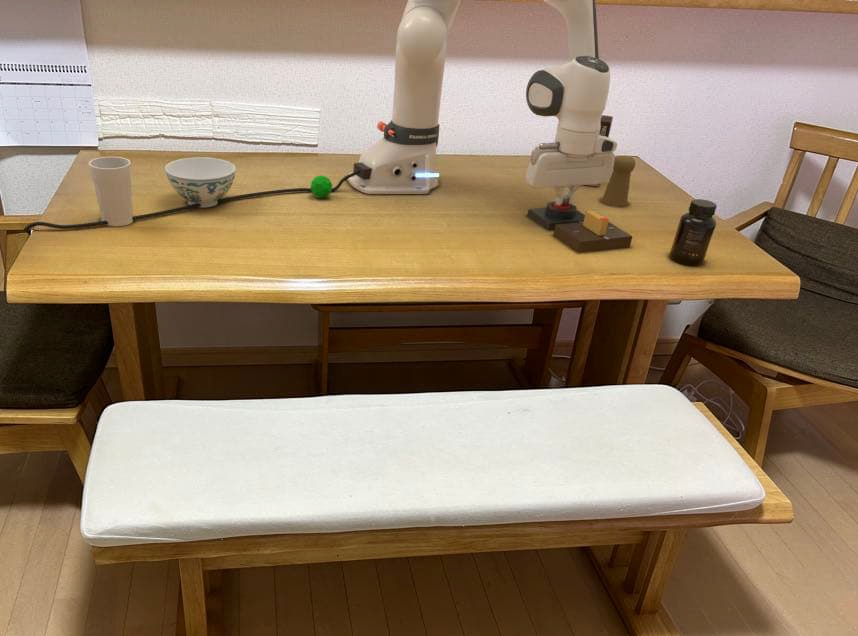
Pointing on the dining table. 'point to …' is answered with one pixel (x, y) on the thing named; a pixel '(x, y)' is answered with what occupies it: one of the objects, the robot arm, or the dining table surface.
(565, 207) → the button
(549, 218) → the alarm box
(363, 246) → the dining table surface
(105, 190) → the cup
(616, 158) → the brown pawn
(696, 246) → the supplement bottle
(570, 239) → the clock face plate
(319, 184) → the polyhedron
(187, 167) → the chinaware
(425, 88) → the robot arm
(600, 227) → the upright wooden block
